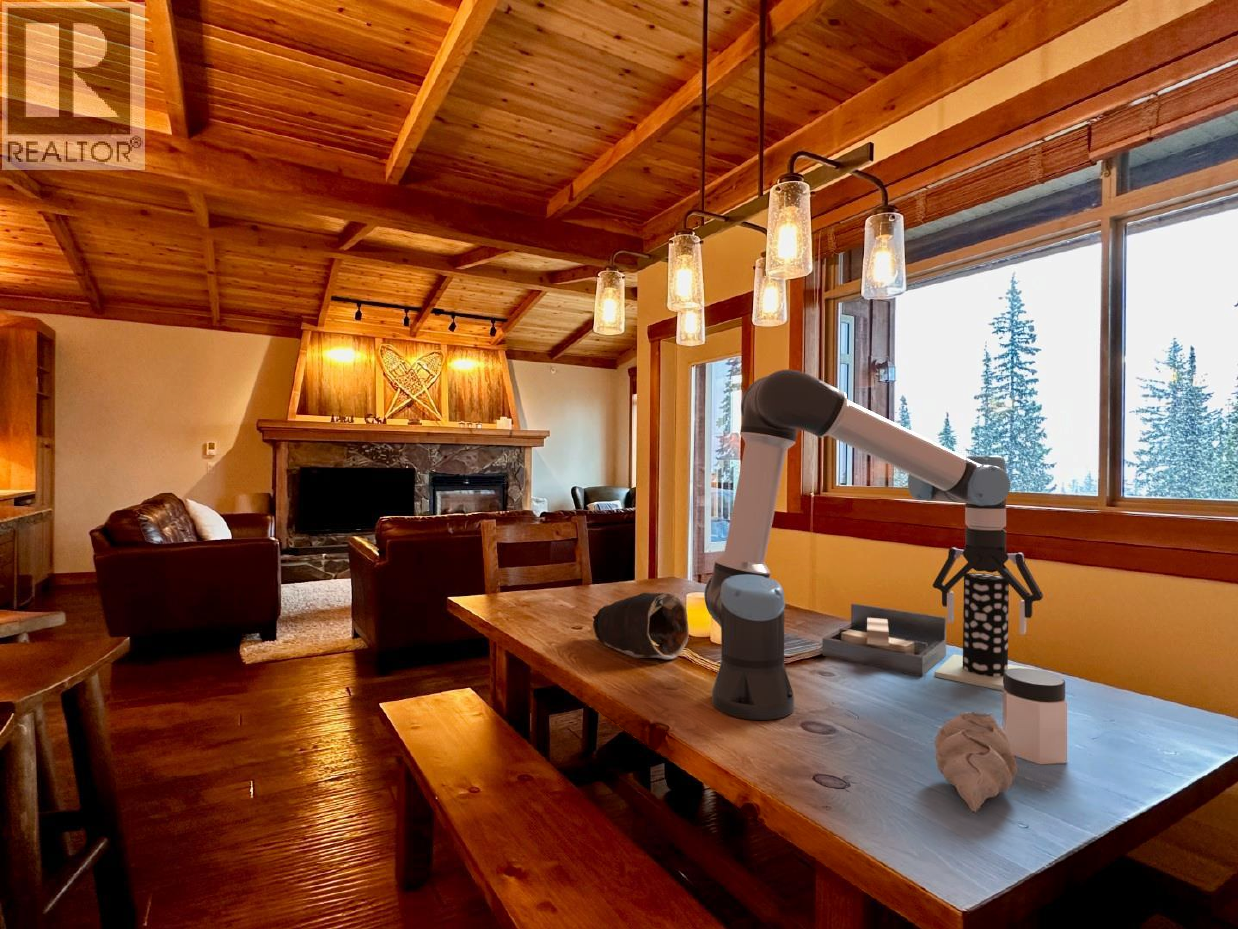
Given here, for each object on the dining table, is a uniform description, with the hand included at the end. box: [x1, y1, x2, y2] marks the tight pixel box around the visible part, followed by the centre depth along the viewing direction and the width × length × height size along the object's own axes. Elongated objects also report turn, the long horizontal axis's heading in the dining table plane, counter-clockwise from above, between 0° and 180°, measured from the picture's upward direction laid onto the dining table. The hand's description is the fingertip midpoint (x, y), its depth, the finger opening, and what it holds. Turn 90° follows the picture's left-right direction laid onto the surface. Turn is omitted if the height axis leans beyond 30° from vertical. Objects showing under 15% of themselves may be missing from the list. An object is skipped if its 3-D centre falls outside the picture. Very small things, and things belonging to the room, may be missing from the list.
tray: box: [821, 602, 947, 677], centre depth 147 cm, size 22×19×9 cm
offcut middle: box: [841, 630, 914, 654], centre depth 143 cm, size 15×4×3 cm, turn 43°
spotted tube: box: [962, 572, 1010, 677], centre depth 133 cm, size 8×8×20 cm
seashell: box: [934, 711, 1018, 814], centre depth 87 cm, size 10×15×10 cm
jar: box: [1002, 668, 1068, 765], centre depth 98 cm, size 9×8×12 cm
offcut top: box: [867, 618, 889, 646], centre depth 143 cm, size 12×4×3 cm, turn 158°
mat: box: [934, 653, 1037, 692], centre depth 133 cm, size 16×16×1 cm
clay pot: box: [591, 592, 690, 660], centre depth 153 cm, size 15×15×25 cm
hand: (985, 627), depth 133 cm, fingers open, 13 cm apart
